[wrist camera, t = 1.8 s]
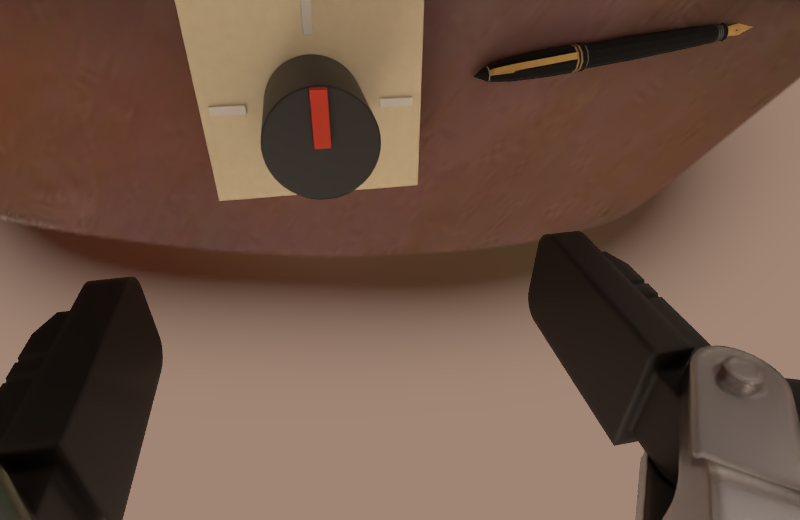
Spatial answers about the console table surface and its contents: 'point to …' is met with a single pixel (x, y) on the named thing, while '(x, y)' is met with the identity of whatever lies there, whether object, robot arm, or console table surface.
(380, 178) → the dial panel
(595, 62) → the fountain pen
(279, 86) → the dial
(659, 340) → the robot arm
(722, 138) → the console table surface
